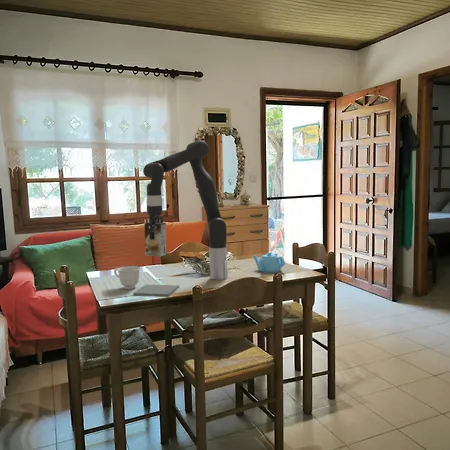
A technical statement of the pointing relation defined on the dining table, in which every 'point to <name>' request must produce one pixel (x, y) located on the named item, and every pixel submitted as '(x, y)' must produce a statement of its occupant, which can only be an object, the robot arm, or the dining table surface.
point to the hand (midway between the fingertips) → (155, 238)
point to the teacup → (128, 276)
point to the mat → (156, 290)
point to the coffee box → (156, 240)
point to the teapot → (269, 263)
